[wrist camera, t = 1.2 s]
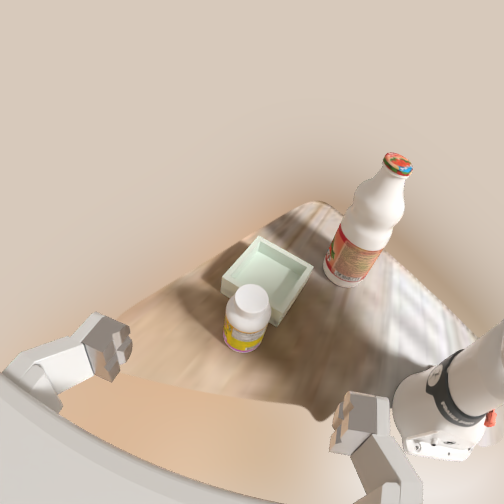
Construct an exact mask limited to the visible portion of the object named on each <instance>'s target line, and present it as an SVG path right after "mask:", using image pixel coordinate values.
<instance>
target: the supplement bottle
mask: <svg viewBox="0 0 504 504" xmlns="http://www.w3.org/2000/svg"><path fill="white" fill-rule="evenodd" d="M270 318H271V306H270V304H269V298H268V294H267V292H266V291H265V290H264V289H263V288H262V287H260V286H258V285H255V284H246V285H243V286H241V287H240V288H238V290H237V291H236V293H235V294H234V295H233V296H232V297H231V298H230V299H229V301H228V303H227V306H226V312H225V320H224V329H223V337H224V341H225V343H226V344H227V346H228V347H229V348H231V349H232V350H234V351H236V352H240V353H247V352H251V351H253V350H255V349H256V348H257V347H258V346H259V345H260V343H261V341H262V338H263V336H264V333H265V331H266V328H267V325H268V323H269V320H270Z"/></svg>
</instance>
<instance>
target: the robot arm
mask: <svg viewBox="0 0 504 504" xmlns="http://www.w3.org/2000/svg"><path fill="white" fill-rule="evenodd" d="M129 334H130V328H129V326H128V325H125V324H123V323H121V322H118V321H116V320H114V319H112V318H109V317H107V316H105V315H103V314H100V313H98V312H94V313H92V314H91V315H90V316H89V317H88V318H87V319H86V320H85V321H84V322H83V324H82V325H81V326H80V327H79V328H78V329H77V330H76V331H75V332H74V333H73V335H72V336H71V337H69V336H66V337H63V338H60V339H57V340H54V341H51V342H49V343H46V344H43V345H40V346H37V347H34V348H31V349H28V350H26V351H23V352H20V353H19V354H18V355H17V356H16V357H15V358H14V360H13V361H12V362H11V363H10V364H9V365H8V366H7V367H6V369H5V370H4V371H3V372H2V373H1V372H0V504H282V503H277V502H272V501H268V500H263V499H259V498H255V497H251V496H247V495H243V494H239V493H236V492H232V491H228V490H224V489H221V488H218V487H215V486H212V485H208V484H206V483H203V482H200V481H197V480H194V479H191V478H188V477H185V476H182V475H180V474H177V473H175V472H172V471H169V470H167V469H164V468H162V467H160V466H157V465H155V464H152V463H150V462H148V461H145V460H143V459H141V458H139V457H136V456H134V455H132V454H130V453H128V452H126V451H124V450H122V449H120V448H117V447H116V446H114V445H112V444H110V443H108V442H106V441H104V440H102V439H100V438H98V437H97V436H95V435H93V434H91V433H89V432H87V431H86V430H84V429H82V428H81V427H79V426H77V425H75V424H74V423H72V422H70V421H69V420H67V419H66V418H64V417H62V416H61V415H59V414H58V413H59V412H60V410H61V409H62V407H63V404H62V402H61V400H60V399H59V397H58V394H59V393H61V392H63V391H65V390H67V389H69V388H71V387H73V386H75V385H77V384H79V383H81V382H82V381H84V380H86V379H88V378H90V377H92V376H94V375H97V376H99V377H101V378H103V379H105V380H107V381H110V382H113V380H114V379H115V377H116V376H117V374H118V373H119V372H120V365H121V364H123V363H126V362H127V360H128V359H129V357H130V354H131V352H132V340H131V339H130V337H129V336H128V335H129ZM502 405H504V319H503V320H502V321H501V322H499V323H498V324H497V325H495V326H494V327H493V328H492V329H490V330H489V331H488V332H487V333H485V334H484V335H483V336H481V337H480V338H479V339H477V340H476V341H475V342H473V343H472V344H471V345H469V346H468V347H467V348H465V349H462V350H459V351H457V352H456V353H454V354H453V355H451V356H449V357H448V358H447V359H445V360H444V361H442V362H441V363H440V364H439V365H435V366H433V367H431V368H429V369H428V370H426V371H423V372H420V373H416V374H413V375H410V376H408V377H407V378H405V379H404V380H403V381H402V382H401V383H400V385H399V386H398V388H397V390H396V392H395V395H394V398H393V405H392V410H393V418H394V422H395V424H396V427H397V429H398V430H399V432H400V434H401V437H402V443H403V449H404V451H405V453H407V454H411V455H416V456H422V457H428V458H435V459H441V460H449V461H457V462H461V461H464V460H465V459H466V458H467V457H468V456H469V454H470V453H471V451H472V450H473V448H474V446H475V445H476V444H477V443H478V442H479V441H480V439H481V438H482V436H483V434H484V431H485V429H486V427H491V426H494V425H495V418H496V416H497V414H496V413H494V410H495V409H496V408H498V407H500V406H502ZM332 426H333V428H334V430H335V432H334V433H333V434H332V436H331V439H330V447H329V452H333V453H338V454H344V455H350V456H351V457H350V458H351V460H352V462H353V464H354V467H355V469H356V471H357V474H358V476H359V478H360V480H361V483H362V485H363V487H364V489H365V492H366V494H367V495H366V496H364V497H363V498H361V499H359V500H358V501H356V502H355V503H353V504H423V482H422V481H421V479H420V477H419V476H418V474H417V473H416V471H415V469H414V468H413V466H412V465H411V463H410V462H409V460H408V458H407V457H406V455H405V454H404V452H403V451H402V449H401V447H400V446H399V444H398V443H397V441H396V440H395V438H394V437H392V436H390V407H389V399H388V398H387V397H381V396H374V395H371V394H365V393H359V392H353V391H348V392H347V393H346V394H345V396H344V401H343V402H341V403H339V405H338V407H337V409H336V411H335V414H334V418H333V424H332ZM415 446H416V448H417V449H416V450H415Z"/></svg>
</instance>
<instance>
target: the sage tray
mask: <svg viewBox="0 0 504 504" xmlns="http://www.w3.org/2000/svg"><path fill="white" fill-rule="evenodd" d="M313 268H314V266H312V265H310V264H309V263H307V262H305V261H303V260H302V259H300V258H298V257H296V256H294V255H293V254H291V253H289V252H287V251H286V250H284V249H282V248H280V247H278V246H277V245H275V244H273V243H271V242H269V241H268V240H266V239H264V238H262V237H260V236H258V237H257V238H256V239H255V240H254V242H253V243H252V244H251V245H250V246H249V247H248V248H247V249H246V250H245V252H244V253H243V254H242V255H241V256H240V257H239V258H238V259H237V261H236V262H235V263H234V264H233V265H232V266H231V267H230V268H229V270H228V271H227V272H226V273H225V274H224V275H223V276H222V282H221V293H222V294H224V295H225V296H227V297H228V298H231V297H232V296H233V295H234V294H235V293H236V291H237V290H238V288H240V287H241V286H243V285H246V284H255V285H258V286H260V287H262V288H263V289H264V290H265V291H266V292H267V294H268V298H269V304H270V306H271V318H270V320H269V323H271V324H272V325H274V326H276V327H278V325H279V324H280V322H281V321H282V319H283V318H284V316H285V315H286V313H287V312H288V310H289V309H290V307H291V306H292V304H293V303H294V301H295V300H296V298H297V296H298V295H299V293H300V292H301V290H302V289H303V287H304V286H305V284H306V283H307V281H308V279H309V276H310V274H311V272H312V270H313Z"/></svg>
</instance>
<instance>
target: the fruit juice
mask: <svg viewBox="0 0 504 504" xmlns="http://www.w3.org/2000/svg"><path fill="white" fill-rule="evenodd" d="M382 164H383V166H382V168H381V170H380V171H379V172H378V173H377V174H376V175H375V176H374V177H373V178H371V179H368V180H366V181H364V182H362V183H361V184H360V185H359V186H358V188H357V190H356V192H355V194H354V198H353V204H352V205H351V206H350V207H349V208H348V209H347V211H346V213H345V215H344V216H343V218H342V221H341V223H340V225H339V228H338V230H337V232H336V234H335V236H334V239H333V241H332V243H331V245H330V247H329V249H328V251H327V254H326V256H325V258H324V262H323V269H324V272H325V274H326V276H327V277H328V278H329V279H330V280H331V281H332V282H333V283H334V284H336V285H338V286H341V287H346V288H351V287H355V286H357V285H358V284H360V283H361V282H362V281H363V280H364V278H365V277H366V275H367V274H368V272H369V270H370V269H371V267H372V266H373V264H374V263H375V261H376V260H377V258H378V257H379V255H380V253H381V252H382V250H383V249H384V247H385V246H386V244H387V243H388V240H389V238H390V237H391V234H392V231H393V226H394V225H396V224H397V223H398V222H399V220H400V219H401V218H402V215H403V213H404V209H405V203H404V197H403V189H404V184H405V180H406V179H407V178H408V177H409V176H410V175H411V173H412V170H413V166H412V164H411V163H410V162H409V160H407V159H406V158H405V157H403V156H401V155H399V154H396V153H392V152H390V153H387V154H386V155H385V157H384V159H383V162H382Z"/></svg>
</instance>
